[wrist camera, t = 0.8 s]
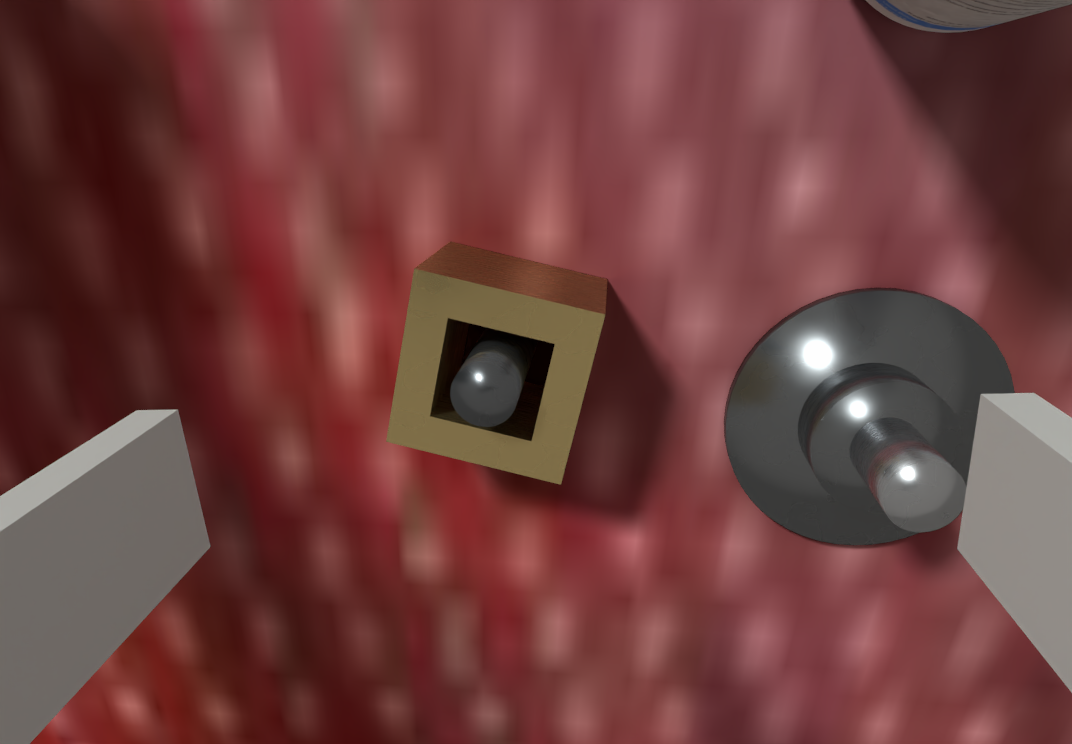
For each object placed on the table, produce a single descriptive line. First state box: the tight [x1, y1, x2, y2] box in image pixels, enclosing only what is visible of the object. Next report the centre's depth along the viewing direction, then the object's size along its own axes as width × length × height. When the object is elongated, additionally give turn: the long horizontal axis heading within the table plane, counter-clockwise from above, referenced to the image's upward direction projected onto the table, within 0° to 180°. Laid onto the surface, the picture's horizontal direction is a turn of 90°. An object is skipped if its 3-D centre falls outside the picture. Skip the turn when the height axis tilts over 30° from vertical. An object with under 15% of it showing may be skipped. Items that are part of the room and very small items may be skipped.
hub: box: [724, 288, 1014, 545], centre depth 29 cm, size 12×12×7 cm
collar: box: [386, 242, 607, 485], centre depth 30 cm, size 7×7×6 cm
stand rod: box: [450, 327, 538, 427], centre depth 29 cm, size 2×2×8 cm
